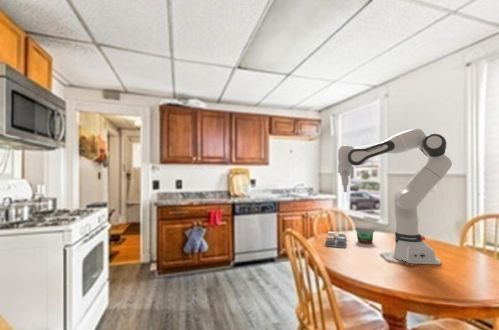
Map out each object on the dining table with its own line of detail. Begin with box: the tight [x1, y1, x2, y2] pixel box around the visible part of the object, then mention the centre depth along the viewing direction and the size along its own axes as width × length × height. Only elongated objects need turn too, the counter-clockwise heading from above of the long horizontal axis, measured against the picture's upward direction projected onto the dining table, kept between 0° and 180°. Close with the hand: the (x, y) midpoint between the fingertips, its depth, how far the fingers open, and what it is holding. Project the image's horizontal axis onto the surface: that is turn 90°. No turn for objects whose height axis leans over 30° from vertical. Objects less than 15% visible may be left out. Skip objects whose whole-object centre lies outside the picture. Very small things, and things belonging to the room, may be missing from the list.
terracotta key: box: [326, 236, 334, 242], centre depth 182 cm, size 4×4×3 cm
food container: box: [355, 227, 375, 245], centre depth 185 cm, size 12×6×10 cm, turn 73°
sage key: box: [337, 231, 346, 237], centre depth 193 cm, size 4×4×3 cm
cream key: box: [327, 231, 336, 237], centre depth 195 cm, size 4×4×3 cm
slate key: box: [338, 237, 345, 243], centre depth 179 cm, size 4×4×3 cm
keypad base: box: [325, 234, 348, 249], centre depth 187 cm, size 13×28×2 cm, turn 160°
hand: (345, 191), depth 174 cm, fingers open, 8 cm apart
